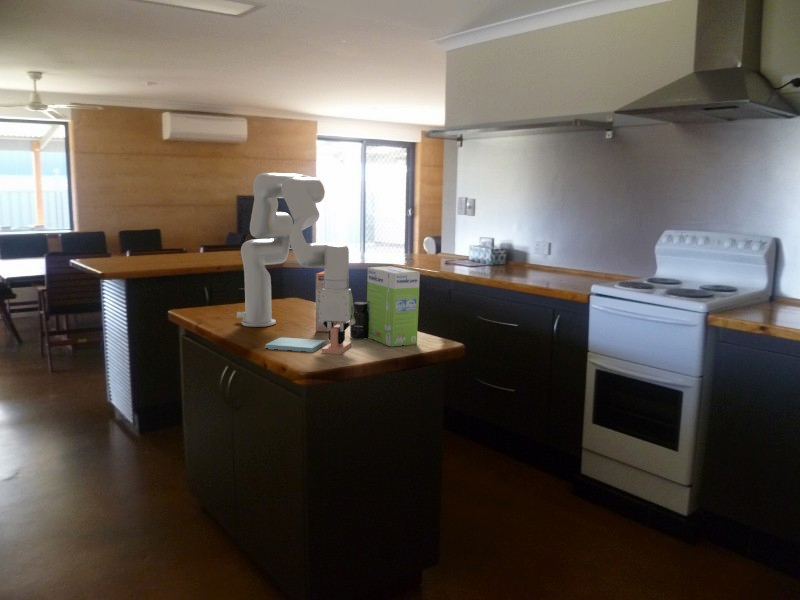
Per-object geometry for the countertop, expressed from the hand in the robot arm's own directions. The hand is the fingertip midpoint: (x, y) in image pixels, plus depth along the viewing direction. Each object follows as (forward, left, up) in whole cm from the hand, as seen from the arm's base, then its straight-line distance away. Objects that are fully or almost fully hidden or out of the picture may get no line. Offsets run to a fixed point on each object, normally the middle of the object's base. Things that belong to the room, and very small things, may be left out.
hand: (336, 342), depth 204 cm
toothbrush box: (+13, +17, -3) cm, 22 cm away
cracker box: (-14, +30, -3) cm, 33 cm away
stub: (0, 0, -2) cm, 2 cm away
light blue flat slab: (-14, 0, -2) cm, 14 cm away
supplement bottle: (+2, +19, -3) cm, 19 cm away
